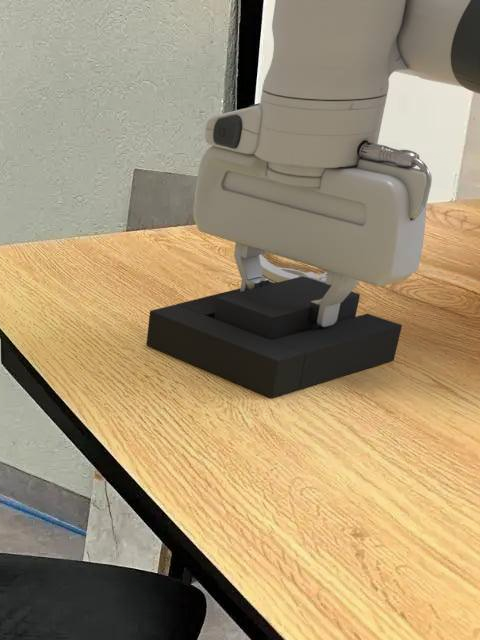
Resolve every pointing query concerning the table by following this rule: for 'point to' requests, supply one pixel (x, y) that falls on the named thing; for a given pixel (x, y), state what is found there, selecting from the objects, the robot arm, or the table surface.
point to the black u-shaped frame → (270, 347)
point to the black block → (279, 307)
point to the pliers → (286, 272)
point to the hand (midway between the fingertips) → (285, 311)
